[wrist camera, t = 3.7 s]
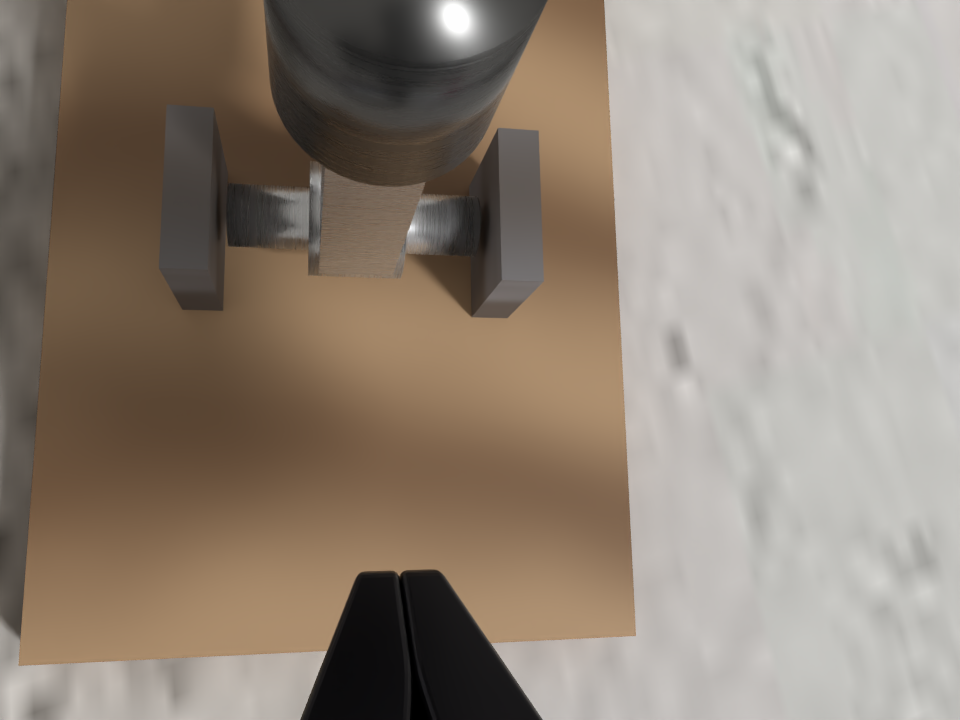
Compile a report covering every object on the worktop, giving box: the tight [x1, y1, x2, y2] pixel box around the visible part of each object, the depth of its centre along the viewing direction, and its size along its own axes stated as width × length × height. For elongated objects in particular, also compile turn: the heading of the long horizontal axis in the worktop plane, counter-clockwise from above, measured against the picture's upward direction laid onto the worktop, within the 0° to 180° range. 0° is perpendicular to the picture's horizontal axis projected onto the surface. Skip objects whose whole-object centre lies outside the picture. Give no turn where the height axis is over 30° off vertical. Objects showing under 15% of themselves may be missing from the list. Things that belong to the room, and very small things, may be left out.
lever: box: [226, 0, 548, 279], centre depth 13 cm, size 6×5×11 cm
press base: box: [19, 0, 636, 666], centre depth 18 cm, size 19×12×4 cm, turn 1°
